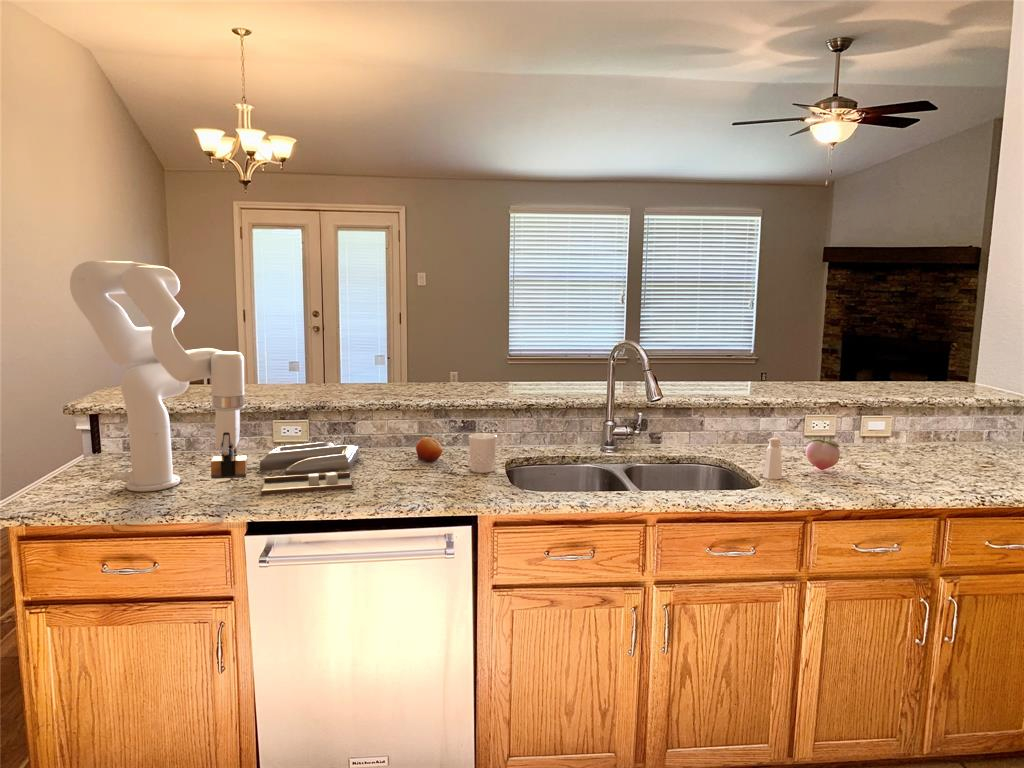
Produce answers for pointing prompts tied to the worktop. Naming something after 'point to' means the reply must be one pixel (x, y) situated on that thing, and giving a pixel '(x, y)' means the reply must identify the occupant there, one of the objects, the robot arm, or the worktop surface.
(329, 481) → the chalk lump
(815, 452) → the decorative fruit
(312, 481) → the chalk lump
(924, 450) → the worktop surface
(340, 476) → the slate tray
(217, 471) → the eraser
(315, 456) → the emblem
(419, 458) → the fruit
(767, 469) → the pepper shaker
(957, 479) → the worktop surface
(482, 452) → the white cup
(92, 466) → the worktop surface
